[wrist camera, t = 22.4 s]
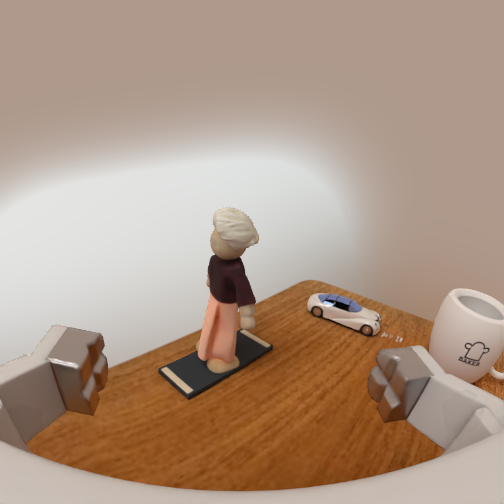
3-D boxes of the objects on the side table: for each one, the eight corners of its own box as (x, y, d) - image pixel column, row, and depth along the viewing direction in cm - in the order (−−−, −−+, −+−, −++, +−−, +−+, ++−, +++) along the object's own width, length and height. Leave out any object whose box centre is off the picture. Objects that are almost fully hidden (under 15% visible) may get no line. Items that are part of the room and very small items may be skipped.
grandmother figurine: (177, 341, 27) (182, 198, 22) (214, 331, 29) (226, 197, 25) (226, 396, 21) (245, 226, 17) (266, 378, 23) (295, 222, 19)
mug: (412, 378, 25) (443, 305, 22) (424, 339, 31) (447, 277, 29) (509, 413, 18) (550, 345, 16) (506, 369, 25) (534, 310, 22)
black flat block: (188, 399, 21) (188, 395, 20) (158, 372, 23) (157, 368, 23) (272, 349, 28) (273, 345, 28) (242, 331, 30) (242, 327, 30)
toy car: (400, 348, 29) (408, 328, 28) (302, 312, 35) (307, 292, 34) (404, 333, 32) (412, 314, 31) (314, 301, 38) (319, 282, 37)
